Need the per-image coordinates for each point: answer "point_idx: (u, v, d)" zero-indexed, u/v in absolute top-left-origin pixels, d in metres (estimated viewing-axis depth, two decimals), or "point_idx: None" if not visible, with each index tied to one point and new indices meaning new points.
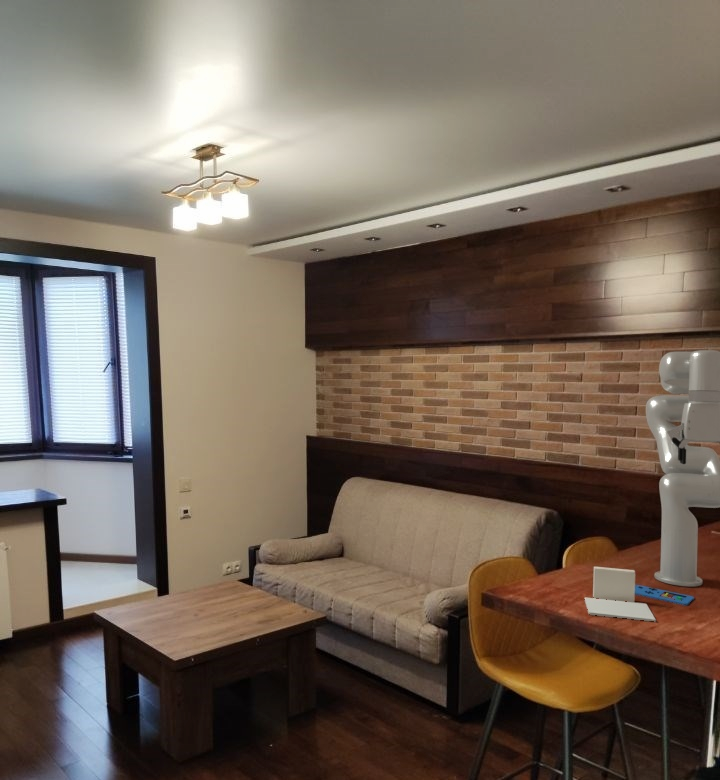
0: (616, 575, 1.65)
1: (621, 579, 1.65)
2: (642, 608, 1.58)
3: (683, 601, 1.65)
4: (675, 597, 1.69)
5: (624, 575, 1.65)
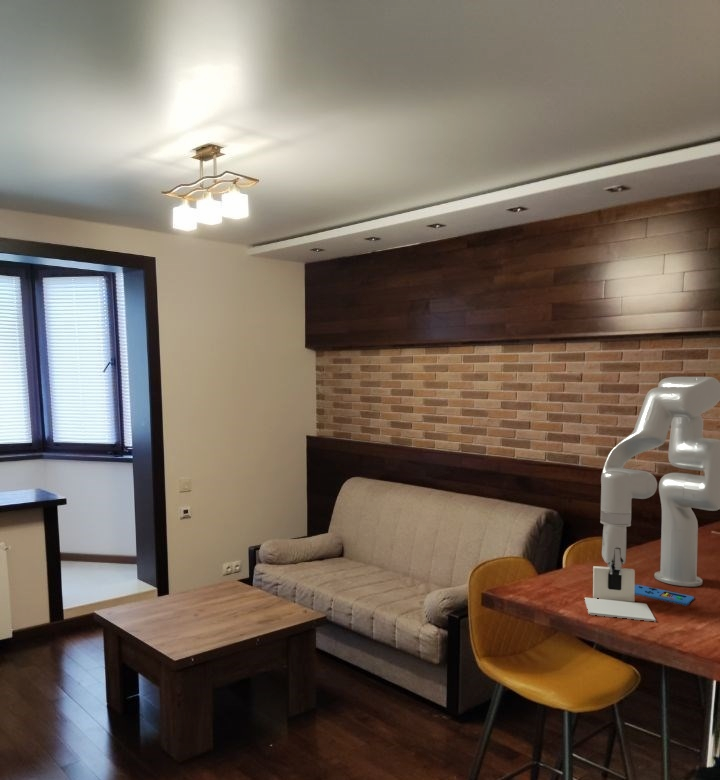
0: None
1: None
2: (642, 608, 1.58)
3: (683, 601, 1.65)
4: (675, 597, 1.69)
5: (624, 574, 1.65)
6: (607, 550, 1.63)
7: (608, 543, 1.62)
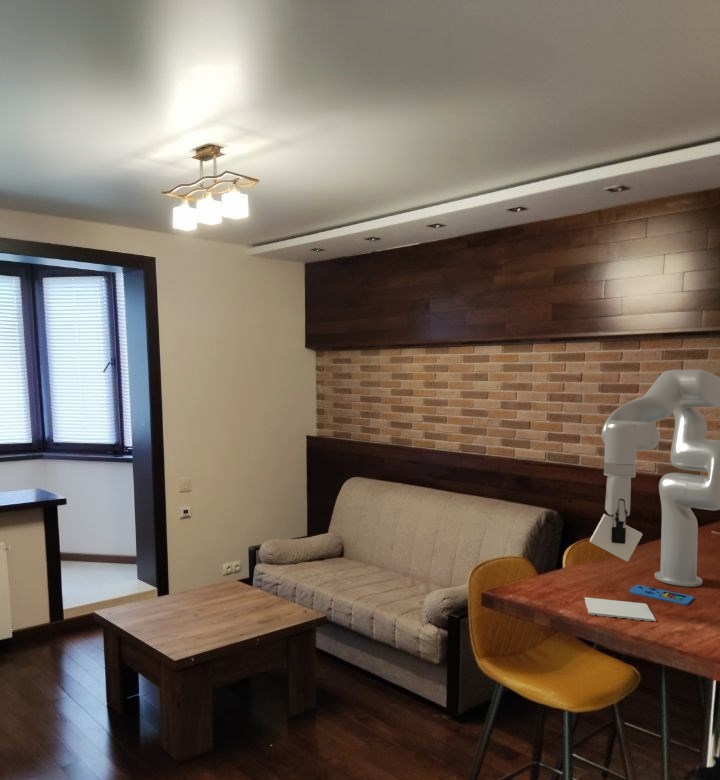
0: None
1: (626, 535, 1.60)
2: (642, 608, 1.58)
3: (683, 601, 1.65)
4: (675, 597, 1.69)
5: (630, 533, 1.60)
6: (611, 502, 1.58)
7: (612, 494, 1.58)
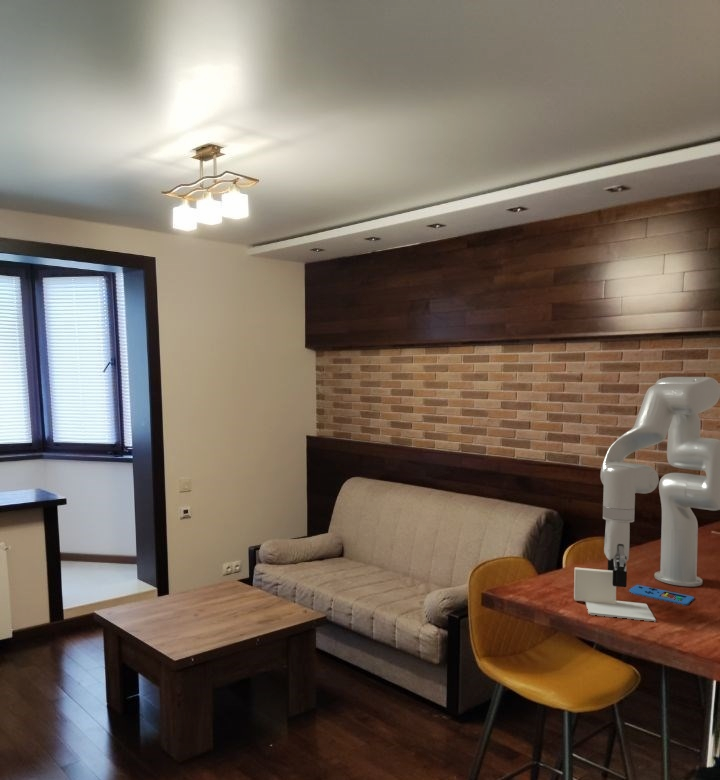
0: (597, 576, 1.61)
1: (602, 580, 1.61)
2: (642, 608, 1.58)
3: (683, 601, 1.65)
4: (675, 597, 1.69)
5: (605, 576, 1.61)
6: (610, 547, 1.58)
7: (611, 539, 1.58)
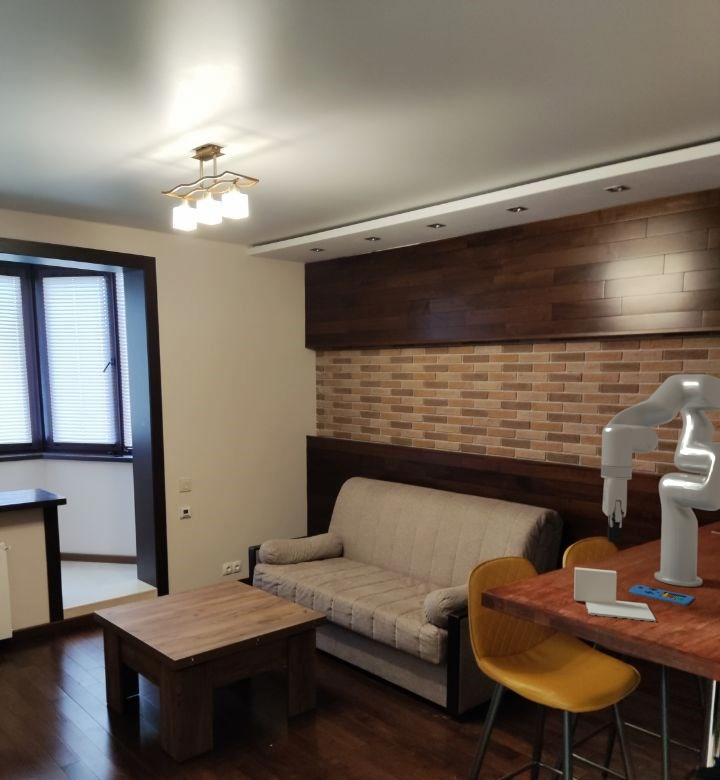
0: (597, 576, 1.61)
1: (602, 580, 1.61)
2: (642, 608, 1.58)
3: (683, 601, 1.65)
4: (675, 597, 1.69)
5: (605, 576, 1.61)
6: (608, 503, 1.64)
7: (609, 496, 1.63)
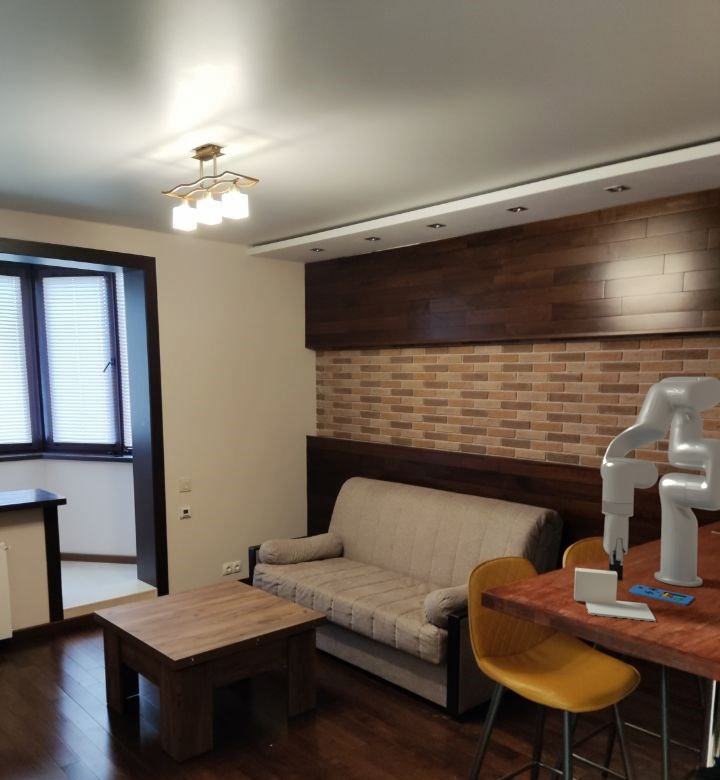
0: (598, 577, 1.60)
1: (603, 581, 1.60)
2: (642, 608, 1.58)
3: (683, 601, 1.65)
4: (675, 597, 1.69)
5: (606, 577, 1.60)
6: (609, 540, 1.59)
7: (610, 533, 1.59)
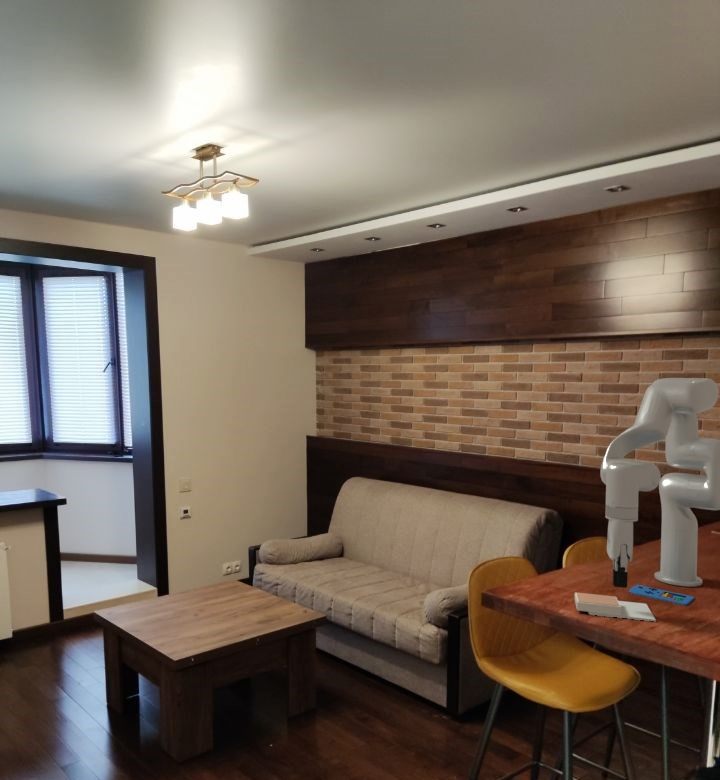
0: None
1: None
2: (642, 608, 1.58)
3: (683, 601, 1.65)
4: (675, 597, 1.69)
5: None
6: (613, 546, 1.53)
7: (614, 539, 1.53)
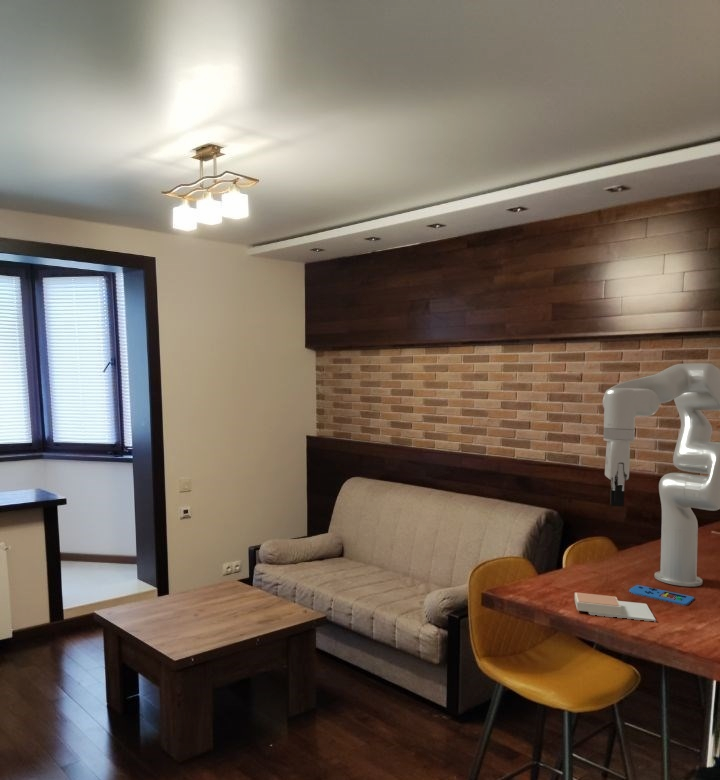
0: None
1: None
2: (642, 608, 1.58)
3: (682, 601, 1.65)
4: (675, 597, 1.69)
5: None
6: (610, 465, 1.61)
7: (611, 458, 1.61)
